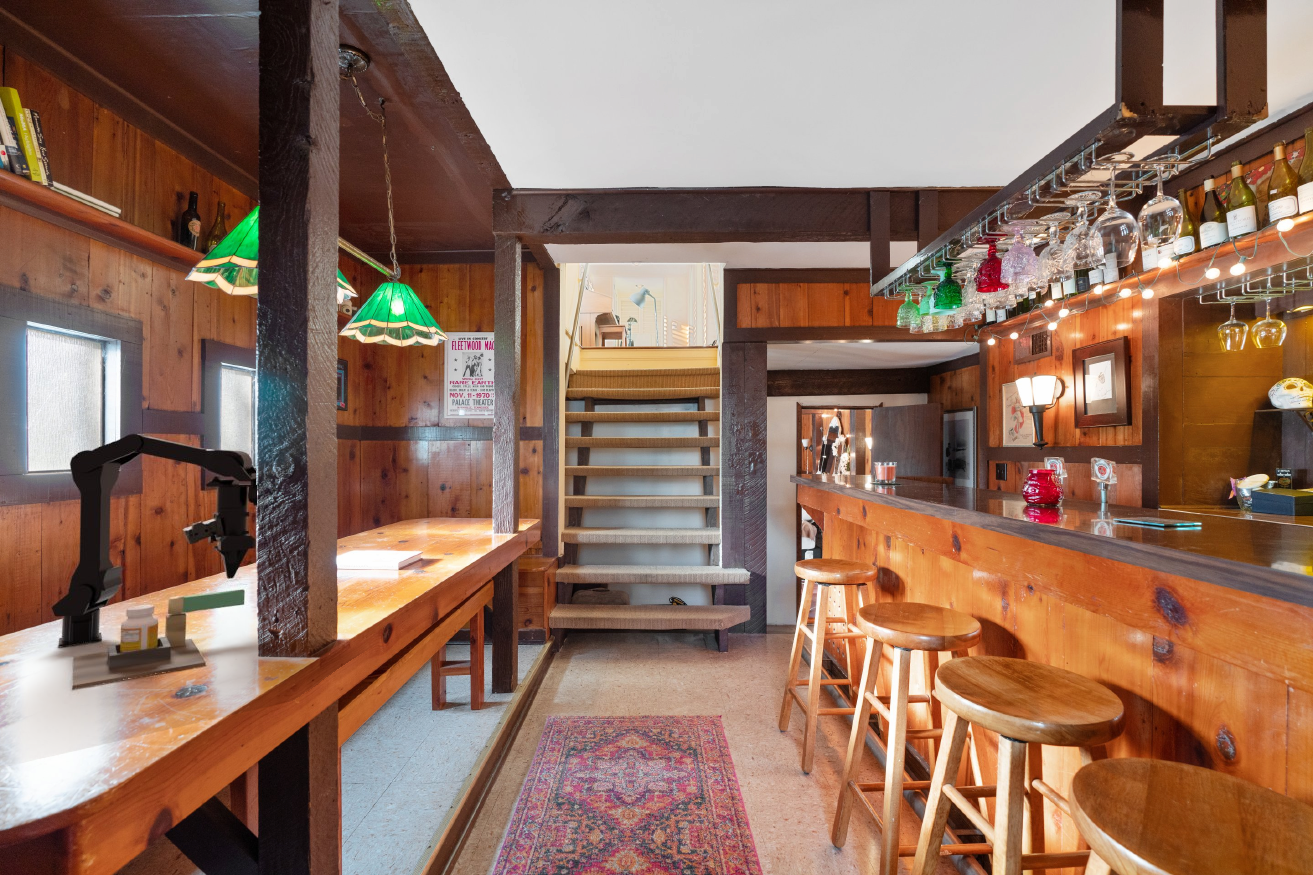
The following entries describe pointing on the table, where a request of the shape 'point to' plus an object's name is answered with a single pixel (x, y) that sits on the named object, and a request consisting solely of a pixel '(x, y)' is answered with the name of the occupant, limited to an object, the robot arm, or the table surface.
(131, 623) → the supplement bottle
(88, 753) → the table surface
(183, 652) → the bottle stand
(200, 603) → the keeper arm
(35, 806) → the table surface
